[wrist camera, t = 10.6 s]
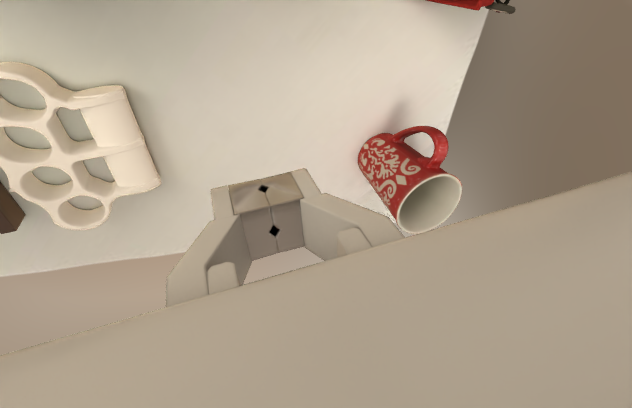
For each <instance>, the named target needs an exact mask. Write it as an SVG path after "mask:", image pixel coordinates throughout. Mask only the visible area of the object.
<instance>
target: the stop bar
mask: <svg viewBox="0 0 632 408" xmlns="http://www.w3.org/2000/svg"><path fill="white" fill-rule="evenodd" d="M24 217H25V213H24V212H23V211H22V209H21V208H20V207H19V205H18V204H17V203H16V202H15V200H14V199H13V198H12V196H11V195H10V194H9V192H8V191H7V190H6V188H5V187H4V186H3V184H2V183H1V182H0V233H1V234H4V233H9V232H13V231H17V229H18V227H19V226H20V224H21V222H22V220H23V219H24Z"/></svg>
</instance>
